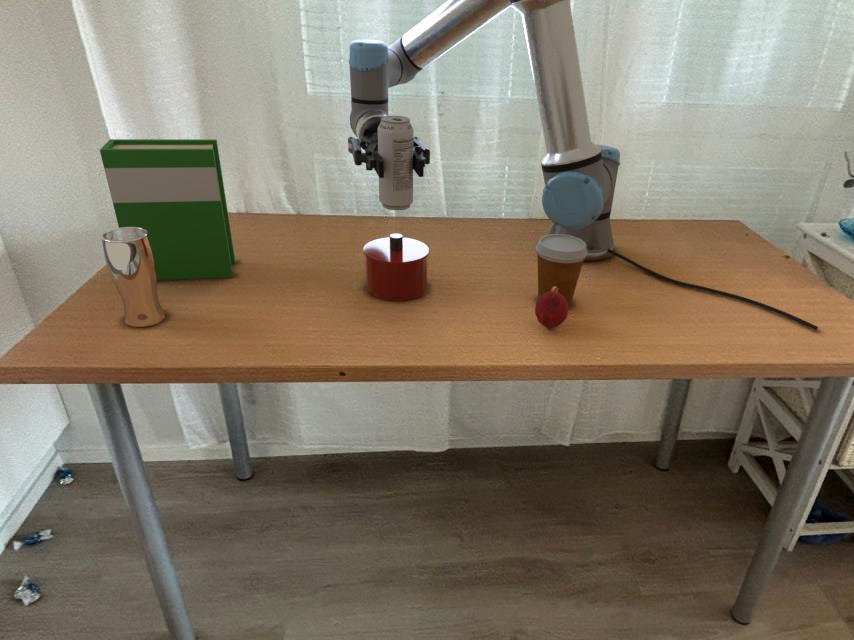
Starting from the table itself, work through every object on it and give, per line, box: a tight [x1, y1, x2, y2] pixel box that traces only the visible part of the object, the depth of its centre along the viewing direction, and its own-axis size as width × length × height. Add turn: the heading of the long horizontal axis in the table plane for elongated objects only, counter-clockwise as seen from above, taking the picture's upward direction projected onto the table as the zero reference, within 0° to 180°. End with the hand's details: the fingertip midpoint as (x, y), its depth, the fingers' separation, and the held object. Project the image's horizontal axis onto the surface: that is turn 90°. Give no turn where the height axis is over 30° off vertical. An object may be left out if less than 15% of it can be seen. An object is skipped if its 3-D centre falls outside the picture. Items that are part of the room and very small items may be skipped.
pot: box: [364, 255, 428, 302], centre depth 122 cm, size 11×11×7 cm
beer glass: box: [100, 227, 166, 328], centre depth 104 cm, size 7×7×15 cm
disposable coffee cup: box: [535, 234, 588, 308], centre depth 119 cm, size 10×10×12 cm
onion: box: [534, 286, 570, 330], centre depth 111 cm, size 6×6×8 cm
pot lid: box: [362, 233, 430, 265], centre depth 119 cm, size 12×12×4 cm
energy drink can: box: [378, 115, 414, 211], centre depth 112 cm, size 6×6×15 cm
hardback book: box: [99, 138, 236, 281], centre depth 118 cm, size 18×7×24 cm, turn 104°
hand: (401, 169), depth 107 cm, fingers closed on energy drink can, 6 cm apart
